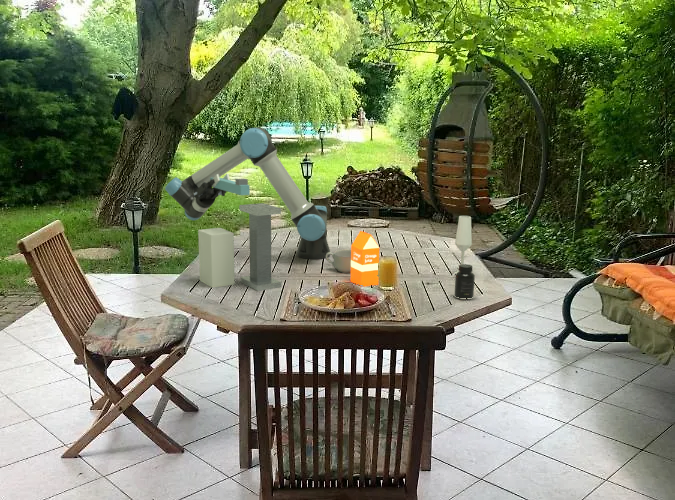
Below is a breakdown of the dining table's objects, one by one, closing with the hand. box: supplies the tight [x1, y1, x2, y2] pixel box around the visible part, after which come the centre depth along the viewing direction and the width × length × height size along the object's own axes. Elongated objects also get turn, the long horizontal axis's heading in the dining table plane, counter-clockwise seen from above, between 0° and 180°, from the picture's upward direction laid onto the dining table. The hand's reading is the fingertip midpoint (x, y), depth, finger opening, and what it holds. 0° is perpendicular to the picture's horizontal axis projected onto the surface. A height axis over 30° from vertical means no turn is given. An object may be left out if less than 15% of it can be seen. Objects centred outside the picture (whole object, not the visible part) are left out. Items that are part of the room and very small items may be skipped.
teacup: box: [325, 248, 351, 274], centre depth 268 cm, size 14×11×8 cm
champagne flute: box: [454, 215, 473, 273], centre depth 264 cm, size 7×7×24 cm
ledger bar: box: [210, 177, 251, 196], centre depth 246 cm, size 28×4×6 cm, turn 34°
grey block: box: [197, 227, 235, 289], centre depth 245 cm, size 12×9×20 cm
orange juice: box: [350, 230, 380, 287], centre depth 248 cm, size 8×9×20 cm
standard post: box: [238, 203, 282, 292], centre depth 242 cm, size 14×10×30 cm
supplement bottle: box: [453, 263, 476, 299], centre depth 232 cm, size 7×7×12 cm
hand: (223, 177), depth 250 cm, fingers closed on ledger bar, 3 cm apart
